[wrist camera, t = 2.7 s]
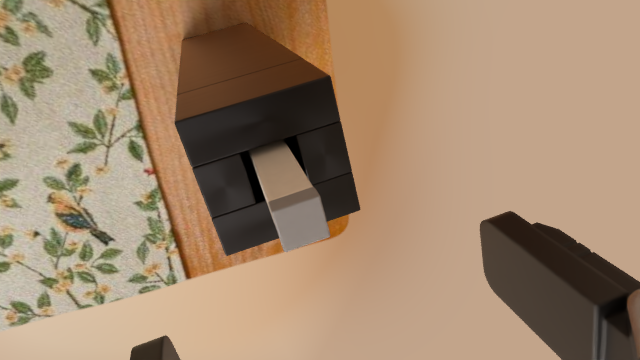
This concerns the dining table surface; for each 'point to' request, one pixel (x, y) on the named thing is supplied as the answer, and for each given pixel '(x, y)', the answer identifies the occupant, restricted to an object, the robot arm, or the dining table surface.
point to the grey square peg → (289, 196)
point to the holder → (257, 128)
